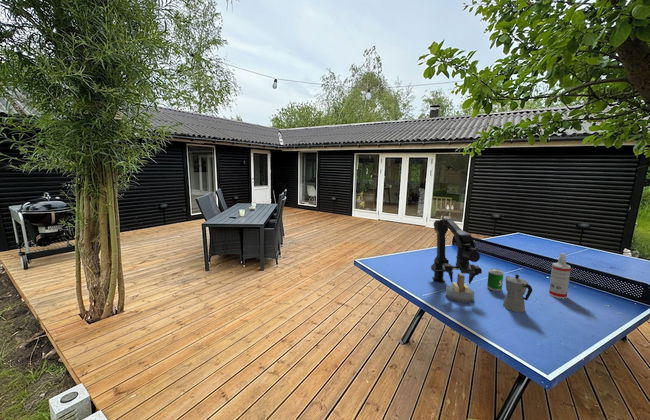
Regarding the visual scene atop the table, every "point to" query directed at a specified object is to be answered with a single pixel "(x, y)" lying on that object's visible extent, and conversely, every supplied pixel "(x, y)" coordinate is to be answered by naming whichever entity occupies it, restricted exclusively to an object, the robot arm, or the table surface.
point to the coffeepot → (516, 293)
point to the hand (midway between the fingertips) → (460, 283)
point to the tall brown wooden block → (460, 282)
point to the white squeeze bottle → (560, 278)
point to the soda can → (495, 279)
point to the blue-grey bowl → (459, 293)
